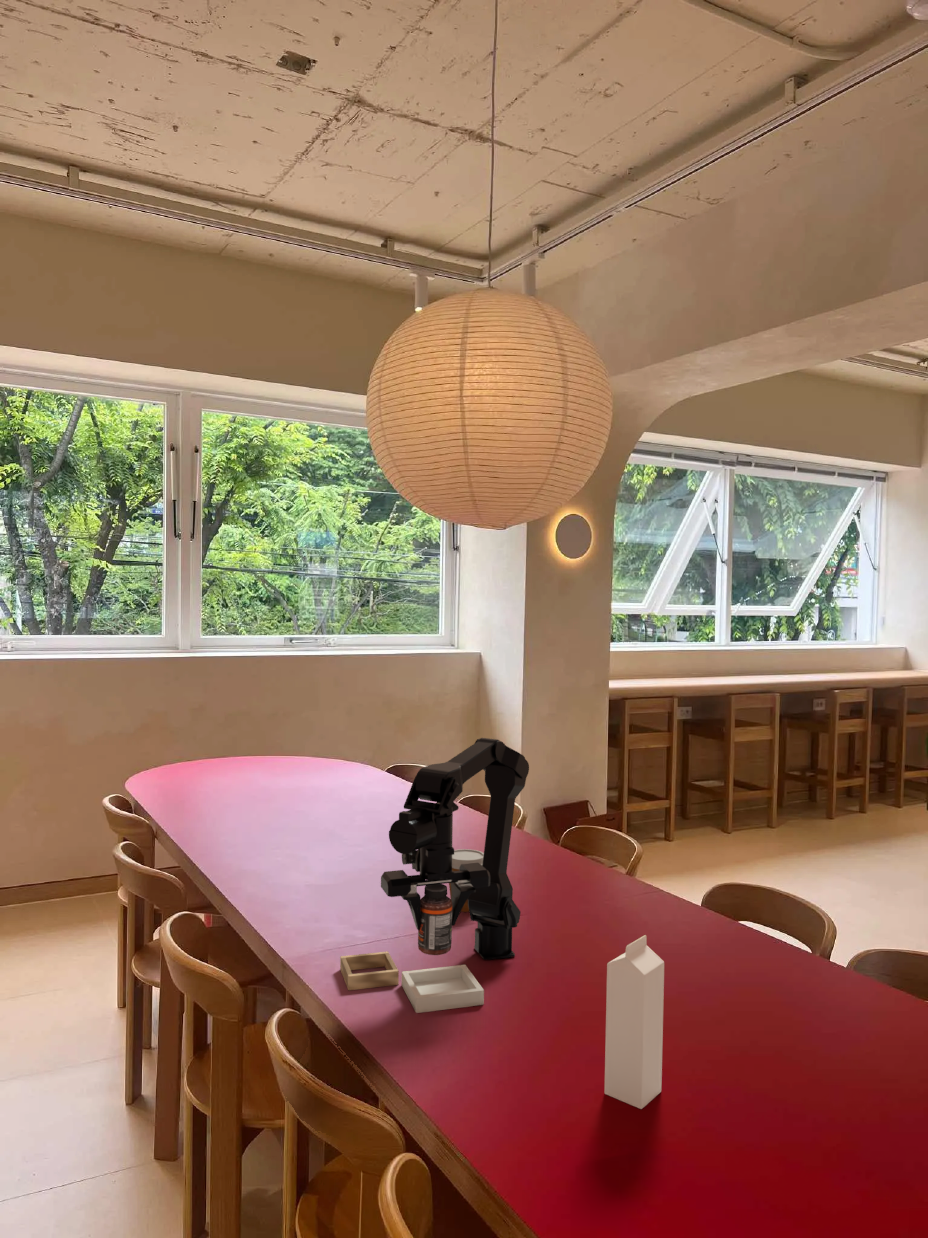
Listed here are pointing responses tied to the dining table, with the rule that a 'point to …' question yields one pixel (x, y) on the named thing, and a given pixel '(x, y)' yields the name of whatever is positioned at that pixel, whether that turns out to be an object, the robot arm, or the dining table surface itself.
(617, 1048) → the milk
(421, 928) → the supplement bottle
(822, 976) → the dining table surface
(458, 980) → the tray
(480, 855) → the disposable coffee cup
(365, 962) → the collar
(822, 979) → the dining table surface
